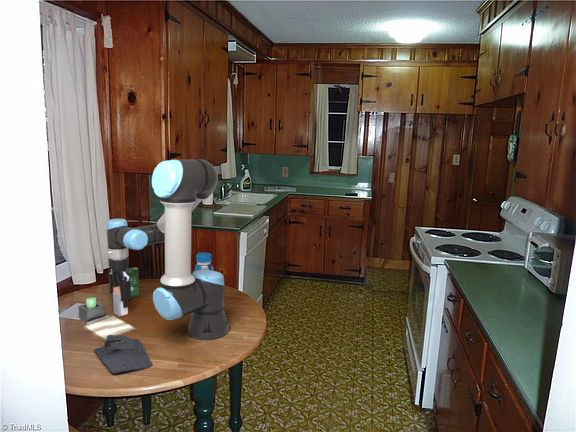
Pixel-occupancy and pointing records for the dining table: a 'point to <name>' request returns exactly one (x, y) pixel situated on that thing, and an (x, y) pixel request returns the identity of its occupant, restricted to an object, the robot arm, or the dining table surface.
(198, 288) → the robot arm
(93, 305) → the button
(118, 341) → the dark grey folded cloth
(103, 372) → the dining table surface
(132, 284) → the coffee box
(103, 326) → the cream flat rectangular panel
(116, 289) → the pink-tipped grey block
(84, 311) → the switch box
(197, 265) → the beverage bottle
